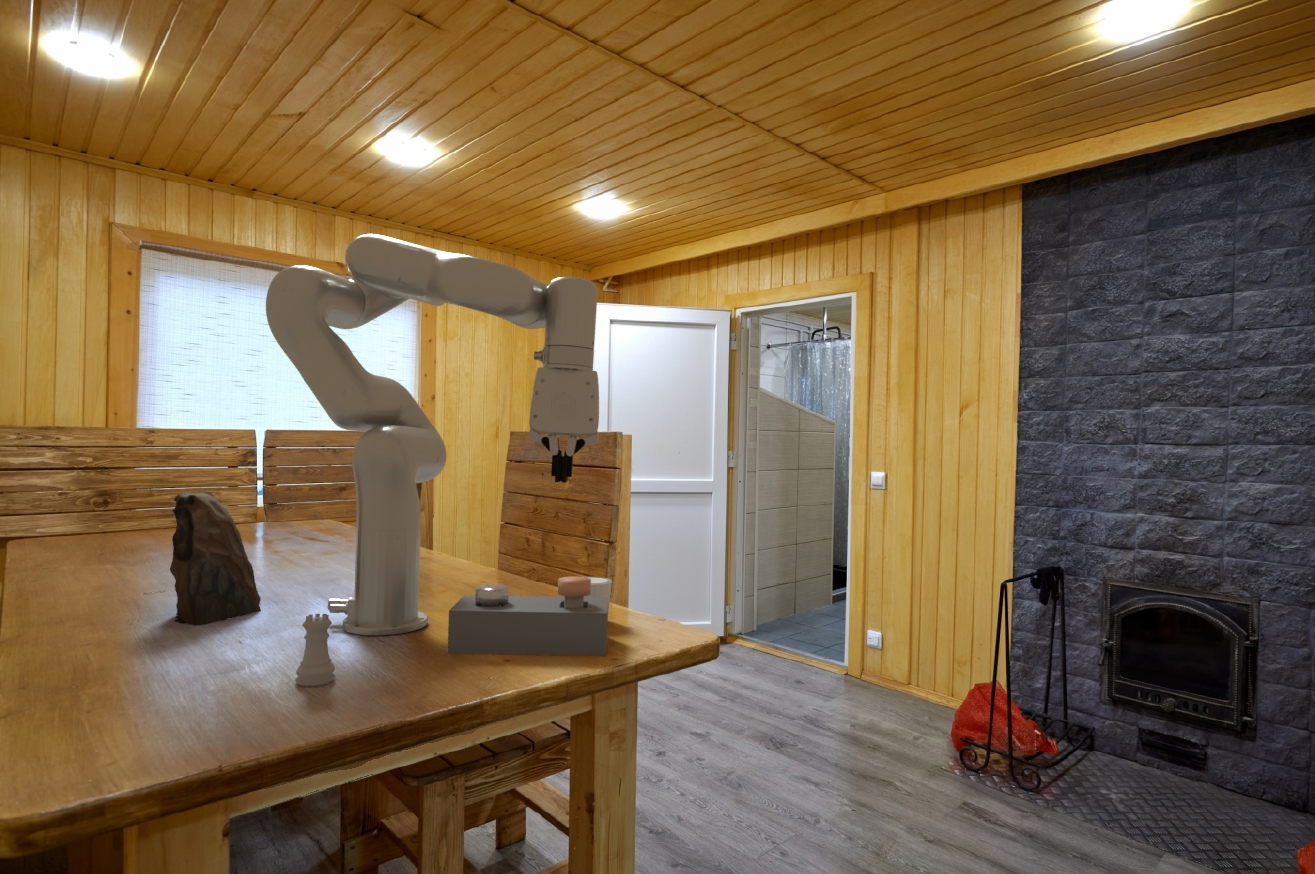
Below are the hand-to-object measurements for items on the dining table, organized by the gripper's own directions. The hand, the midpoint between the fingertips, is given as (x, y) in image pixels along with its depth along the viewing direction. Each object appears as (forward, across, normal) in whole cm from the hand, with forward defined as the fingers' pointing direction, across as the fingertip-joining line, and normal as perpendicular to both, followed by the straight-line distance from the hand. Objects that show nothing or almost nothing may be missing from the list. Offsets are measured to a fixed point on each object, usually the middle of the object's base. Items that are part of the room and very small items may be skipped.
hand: (561, 481), depth 108 cm
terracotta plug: (+22, +3, -3) cm, 22 cm away
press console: (+24, -2, -3) cm, 24 cm away
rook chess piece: (+25, -26, -21) cm, 42 cm away
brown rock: (+26, -56, +9) cm, 62 cm away
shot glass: (+24, +5, +11) cm, 27 cm away
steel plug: (+23, -9, -3) cm, 25 cm away
